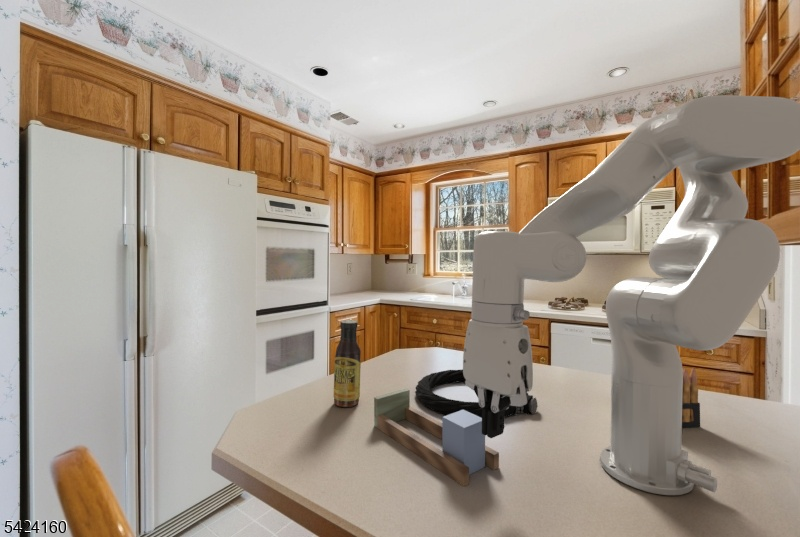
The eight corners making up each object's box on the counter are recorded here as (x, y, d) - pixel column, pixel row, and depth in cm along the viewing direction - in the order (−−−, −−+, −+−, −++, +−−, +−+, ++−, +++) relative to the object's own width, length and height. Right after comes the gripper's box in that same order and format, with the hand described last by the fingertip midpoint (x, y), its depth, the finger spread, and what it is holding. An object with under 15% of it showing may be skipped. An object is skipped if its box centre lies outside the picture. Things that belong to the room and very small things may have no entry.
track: (498, 467, 61) (499, 431, 61) (463, 486, 56) (463, 447, 56) (406, 415, 81) (406, 388, 81) (374, 425, 76) (374, 397, 76)
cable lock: (449, 361, 111) (552, 381, 93) (449, 374, 111) (552, 396, 93) (392, 387, 89) (514, 419, 71) (392, 403, 89) (513, 439, 71)
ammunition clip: (692, 423, 77) (694, 366, 76) (700, 427, 75) (701, 369, 75) (644, 425, 76) (645, 368, 76) (650, 429, 74) (651, 370, 74)
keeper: (485, 466, 61) (485, 419, 61) (464, 477, 58) (464, 427, 58) (463, 453, 65) (463, 409, 65) (442, 463, 62) (442, 416, 62)
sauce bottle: (329, 407, 85) (328, 323, 85) (339, 397, 92) (339, 318, 91) (355, 410, 84) (355, 324, 83) (364, 399, 90) (364, 319, 89)
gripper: (556, 319, 51) (551, 448, 52) (475, 306, 63) (472, 411, 64) (525, 323, 47) (519, 464, 47) (444, 309, 59) (440, 421, 59)
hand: (492, 433), depth 56 cm, fingers closed
